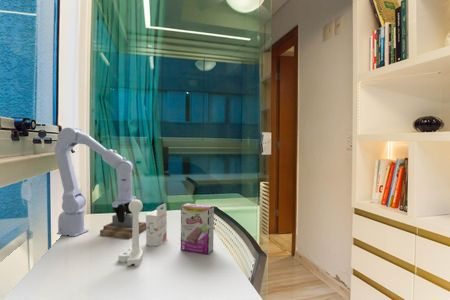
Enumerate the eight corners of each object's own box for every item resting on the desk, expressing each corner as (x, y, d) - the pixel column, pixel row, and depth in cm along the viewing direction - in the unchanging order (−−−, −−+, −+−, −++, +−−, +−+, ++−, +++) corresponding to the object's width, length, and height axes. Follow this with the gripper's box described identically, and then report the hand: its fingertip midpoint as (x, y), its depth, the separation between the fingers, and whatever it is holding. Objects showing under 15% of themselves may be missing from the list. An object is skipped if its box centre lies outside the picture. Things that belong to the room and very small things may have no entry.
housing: (112, 227, 121) (112, 214, 120) (119, 224, 125) (119, 211, 125) (130, 229, 118) (130, 216, 118) (137, 225, 123) (137, 213, 123)
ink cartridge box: (155, 237, 115) (155, 201, 114) (166, 238, 114) (167, 202, 113) (145, 245, 106) (145, 206, 106) (157, 246, 105) (157, 207, 105)
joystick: (142, 265, 89) (142, 202, 89) (116, 268, 87) (116, 204, 87) (142, 252, 100) (142, 196, 99) (119, 254, 98) (119, 196, 97)
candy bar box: (179, 250, 102) (180, 205, 101) (186, 245, 107) (186, 202, 106) (208, 255, 98) (209, 208, 98) (213, 250, 103) (214, 205, 102)
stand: (100, 235, 117) (100, 227, 117) (121, 225, 131) (121, 218, 130) (129, 238, 113) (129, 230, 113) (148, 228, 127) (148, 221, 127)
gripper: (122, 192, 113) (122, 226, 114) (142, 186, 127) (142, 216, 128) (107, 191, 115) (107, 224, 116) (129, 185, 129) (129, 215, 130)
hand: (125, 220), depth 122 cm, fingers closed on housing, 5 cm apart
